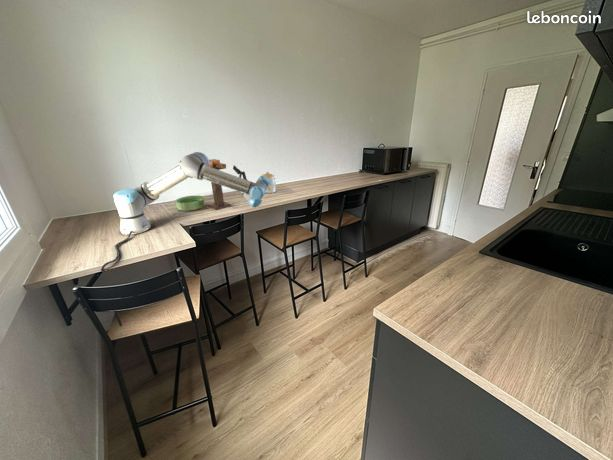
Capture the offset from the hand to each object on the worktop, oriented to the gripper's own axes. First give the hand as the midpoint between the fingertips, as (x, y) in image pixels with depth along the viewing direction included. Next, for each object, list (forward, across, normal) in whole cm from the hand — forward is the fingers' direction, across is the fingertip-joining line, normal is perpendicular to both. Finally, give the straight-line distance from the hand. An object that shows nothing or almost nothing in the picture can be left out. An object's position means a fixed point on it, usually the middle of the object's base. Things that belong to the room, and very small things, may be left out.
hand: (225, 168), depth 168 cm
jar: (0, +51, -34) cm, 62 cm away
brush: (+8, 0, -4) cm, 9 cm away
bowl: (+10, -14, -40) cm, 44 cm away
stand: (-3, 0, -33) cm, 33 cm away
